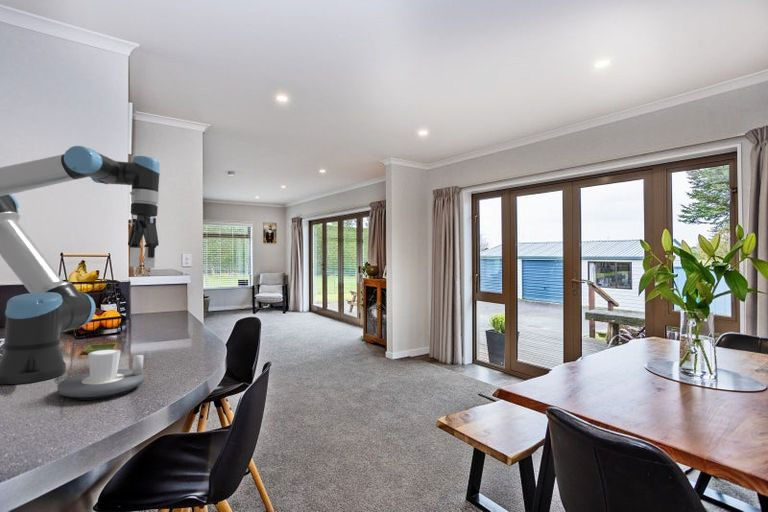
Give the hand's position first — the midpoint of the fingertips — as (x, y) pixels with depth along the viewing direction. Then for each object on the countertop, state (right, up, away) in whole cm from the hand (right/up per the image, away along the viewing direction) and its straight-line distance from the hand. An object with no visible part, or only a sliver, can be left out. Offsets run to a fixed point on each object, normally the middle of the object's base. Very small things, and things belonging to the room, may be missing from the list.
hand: (141, 267), depth 124 cm
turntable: (+7, -30, -26) cm, 40 cm away
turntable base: (+7, -32, -26) cm, 42 cm away
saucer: (-23, -32, +13) cm, 41 cm away
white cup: (+7, -29, -26) cm, 39 cm away
